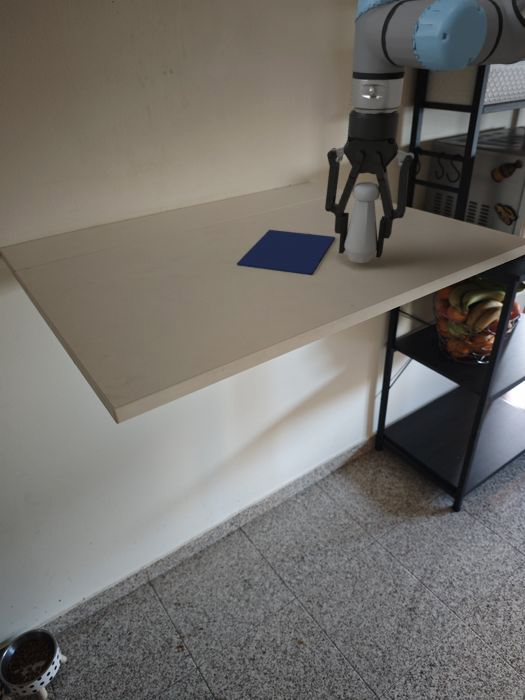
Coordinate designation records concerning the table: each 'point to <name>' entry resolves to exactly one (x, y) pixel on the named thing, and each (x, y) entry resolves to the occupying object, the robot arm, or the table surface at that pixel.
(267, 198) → the table surface
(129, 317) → the table surface
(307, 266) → the cloth
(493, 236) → the table surface
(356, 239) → the salt shaker
